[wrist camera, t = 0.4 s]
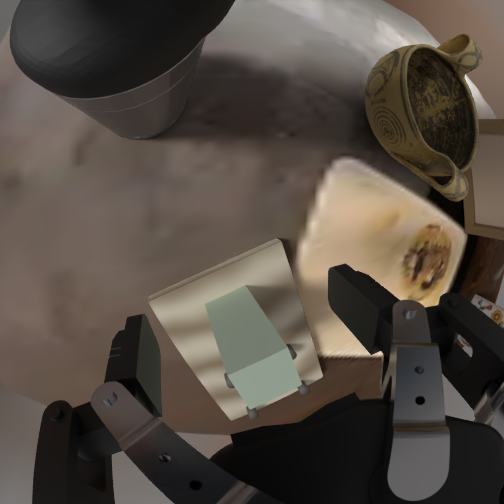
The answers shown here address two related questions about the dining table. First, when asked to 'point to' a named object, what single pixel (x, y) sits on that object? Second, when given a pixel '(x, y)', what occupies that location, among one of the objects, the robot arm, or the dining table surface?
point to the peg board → (268, 298)
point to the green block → (251, 348)
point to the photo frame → (486, 183)
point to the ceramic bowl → (427, 110)
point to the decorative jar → (490, 309)
